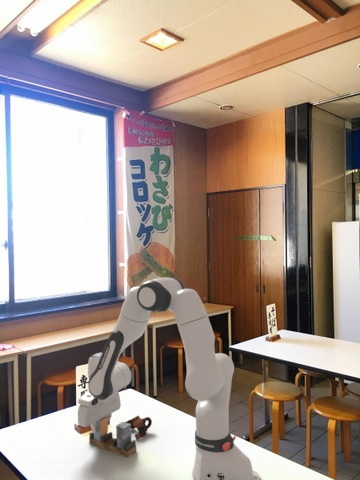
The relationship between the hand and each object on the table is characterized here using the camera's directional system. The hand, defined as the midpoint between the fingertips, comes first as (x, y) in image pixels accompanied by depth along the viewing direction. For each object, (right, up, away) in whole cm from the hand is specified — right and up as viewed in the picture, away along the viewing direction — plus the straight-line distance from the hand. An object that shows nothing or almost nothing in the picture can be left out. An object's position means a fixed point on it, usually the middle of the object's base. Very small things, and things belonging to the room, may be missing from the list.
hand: (100, 428), depth 159 cm
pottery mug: (+14, -6, +7) cm, 17 cm away
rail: (+5, -6, -3) cm, 8 cm away
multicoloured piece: (0, -4, 0) cm, 4 cm away
